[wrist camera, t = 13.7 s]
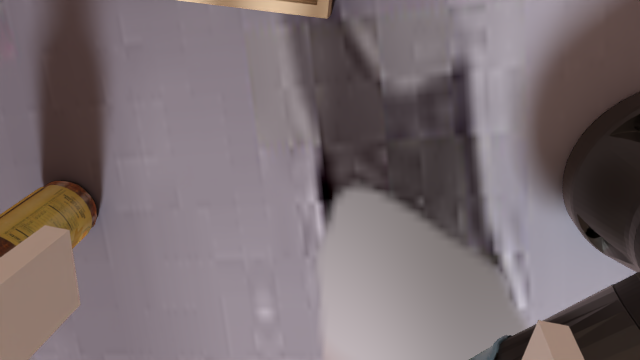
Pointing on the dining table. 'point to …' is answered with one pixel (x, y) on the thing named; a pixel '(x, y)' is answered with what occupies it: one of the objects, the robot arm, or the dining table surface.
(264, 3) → the serving tray
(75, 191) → the sauce bottle
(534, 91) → the dining table surface
